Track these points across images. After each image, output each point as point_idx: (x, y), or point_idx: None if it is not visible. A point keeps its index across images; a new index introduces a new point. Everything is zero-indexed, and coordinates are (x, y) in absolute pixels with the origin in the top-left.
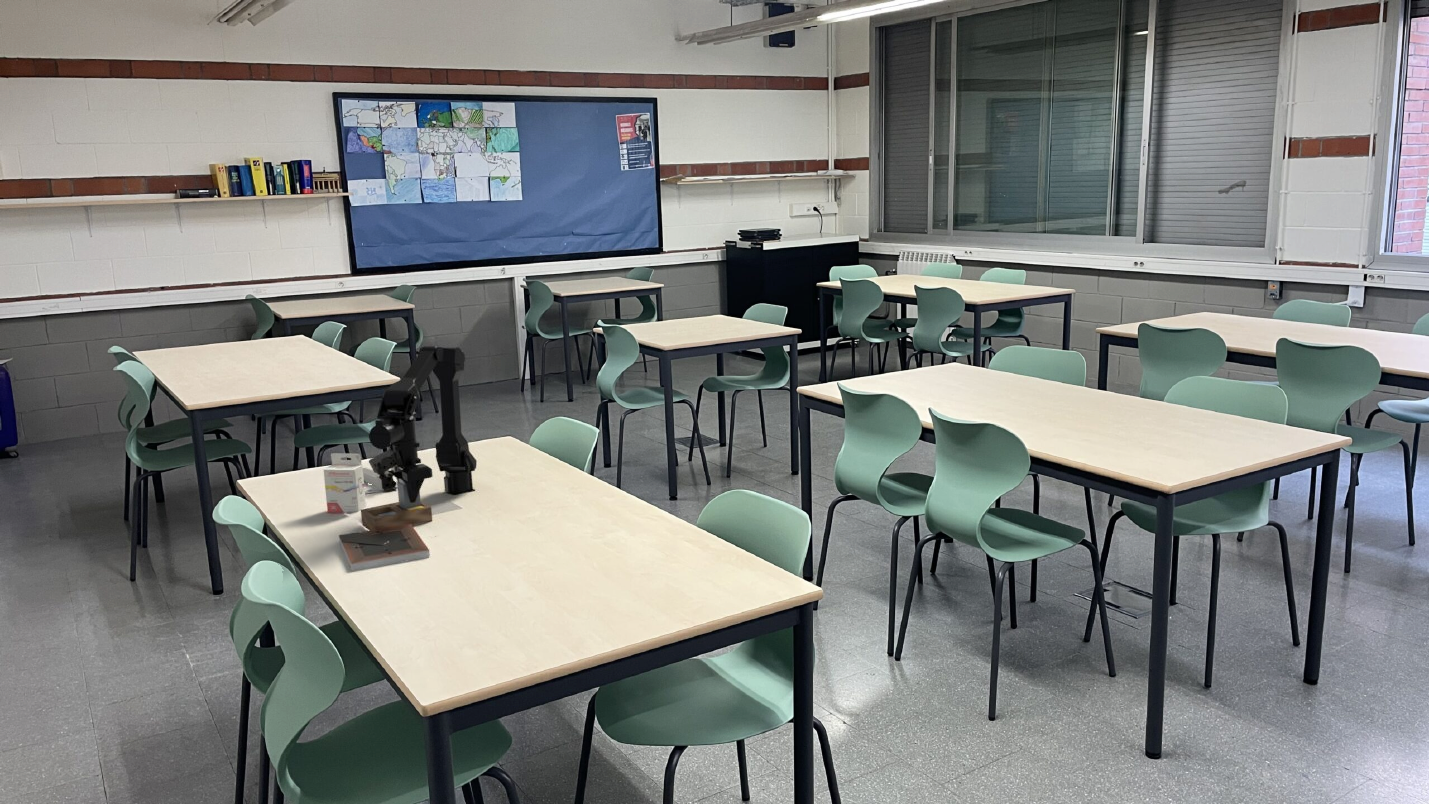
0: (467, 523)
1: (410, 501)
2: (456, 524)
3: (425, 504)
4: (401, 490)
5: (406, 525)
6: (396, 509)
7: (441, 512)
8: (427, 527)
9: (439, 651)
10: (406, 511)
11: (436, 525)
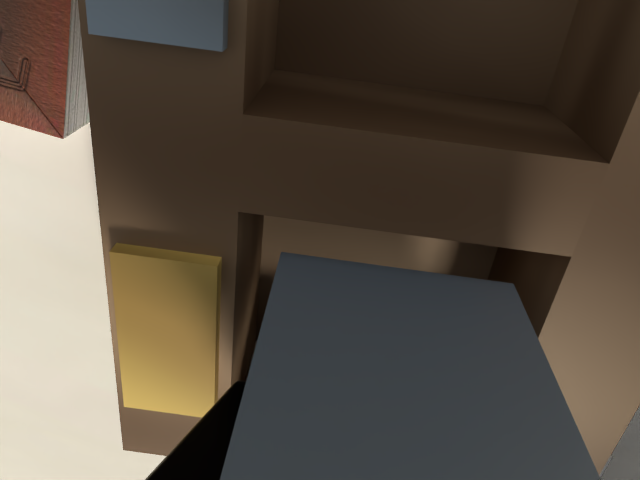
0: (6, 453)
1: (239, 389)
2: (27, 408)
3: None
4: None
5: (26, 72)
6: (360, 169)
7: None
8: (86, 252)
9: None
10: (146, 215)
11: (94, 320)
